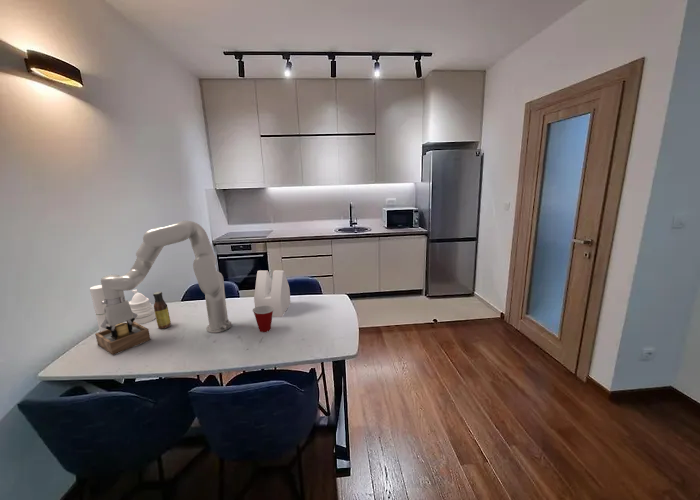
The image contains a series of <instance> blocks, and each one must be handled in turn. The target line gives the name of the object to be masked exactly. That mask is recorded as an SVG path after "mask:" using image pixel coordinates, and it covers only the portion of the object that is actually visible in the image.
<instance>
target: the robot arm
mask: <svg viewBox="0 0 700 500" xmlns="http://www.w3.org/2000/svg"><path fill="white" fill-rule="evenodd" d="M188 239H189V241H190V243H191V248H192V251H193V254H194V256H195V259H193V264H192V268H193V271H194V275H195V278H196V281H197V284H198V286H199V289H200V290H201V292H202V293H203V294H204V295H205V296H204V297H205V298H204V299H205V304H206V312H207V319H208V325H207V326H206V332H208V333H211V334H213V333H216V334H217V333H222V332H225V331H227V330H229V329H230V328H231V327H232V325H233V323H232V321H230V320H229V316H228V308H227V302H226V292H225V281H224V276H223V274H222V273H221V272H220V271H218V270H217V268H216V265H217V259H216V256H215V253H214V250H213V247H212V245H211V242H210V238H209V236H208V234H207V232H206V229H204V227H202V225H200V224H199V223H197V222H194V221H191V220H181V221H178V222H176V223H173V224H171V225H167V226H163V227H153V228H151V229H148V230H147V231H145V232H144V234H143V237H142V243H141V244H140V245H139V247H138V249H137V250H136V252H135V256H136V259H135V261H134V263H133V265H132V266H131V268H130V270H129V271H128V272H126V273H125V274H123V275H121V276H120V275H119V274H109V275H105V276H103V277H101V278H100V283H101V284H100V285H102V289H103V293H104V298H105V299H104V301H102V304H106V305H105V307H104V312H105V320H104V322H103V323H102V325H101V327H102V328H105V329H108V330H111V334H112V336H113V337H115V338H117V332H116V330H115V325H117V324H120V323H127V325H128V330H129V332H132V330H133V329H132V323H133V321H134V320H135V318H136V317H137V316H138V315H137V314H135V313H133V312H132V310H131V307H130V304H129V302H130V301H129V300H128V299H126V298H125V297H126V296H125V292H126V291H127V292H128V291H132V290H135V288H136V287H138V286H139V285H140V284H142V282H144V280H145V278H146V277H147V275H148V273H149V272H150V270H151V269H152V267H153V265H154V264H155V262H156V259H157V257H159V255H160V253H161V252H162V250H163V248H164V247H165V246H169V245H172V244H173V245H174V244H177V243H181V242H184V241H186V240H188ZM124 291H125V292H124ZM106 324H109V325H110V327H109V326H106Z"/></svg>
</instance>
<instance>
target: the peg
mask: <svg viewBox="0 0 700 500" xmlns="http://www.w3.org/2000/svg"><path fill="white" fill-rule="evenodd" d="M115 330H116V332H117V340H118V339H121V338H123V337H126V336H129V335H130V334H129V330H128V325H127V322H123V323H120V324H117V325H116V326H115Z"/></svg>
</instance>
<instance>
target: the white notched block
mask: <svg viewBox="0 0 700 500" xmlns="http://www.w3.org/2000/svg"><path fill="white" fill-rule="evenodd" d="M254 287H255V289H254V296H253V303H254V308H255V307H258V306H272V307H274V310H273V313H272V318H283V317H284V315H285V313H286V312H287V310H288V309H289V307H290V306H291V304H292V303H291V302H292V301H291V292H290V291H291V290H290V285H289V282H288V279H287V275H286V273H285V270H279V269H277V270H272V276H271V275H270V272H269V270H257V273H256V280H255V286H254ZM289 305H290V306H289ZM287 308H288V309H287ZM285 311H286V312H285ZM283 314H284V315H283Z"/></svg>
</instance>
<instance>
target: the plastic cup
mask: <svg viewBox="0 0 700 500" xmlns="http://www.w3.org/2000/svg"><path fill="white" fill-rule="evenodd" d="M273 310H274V307H272V306H258V307H255V306H254V308H252V312H253V315H254V317H255V321H256V324H257V327H258V328H257V329H258V330H259V332H260V333H267V331H268V332H269V330H270V329H272V319H273V317H272V313H273ZM270 331H271V330H270Z"/></svg>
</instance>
